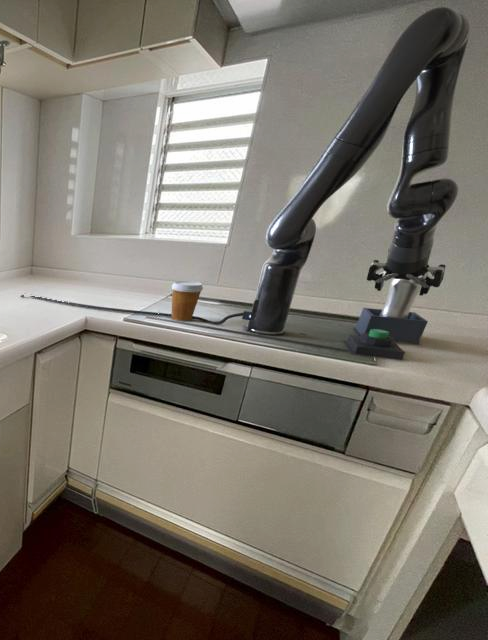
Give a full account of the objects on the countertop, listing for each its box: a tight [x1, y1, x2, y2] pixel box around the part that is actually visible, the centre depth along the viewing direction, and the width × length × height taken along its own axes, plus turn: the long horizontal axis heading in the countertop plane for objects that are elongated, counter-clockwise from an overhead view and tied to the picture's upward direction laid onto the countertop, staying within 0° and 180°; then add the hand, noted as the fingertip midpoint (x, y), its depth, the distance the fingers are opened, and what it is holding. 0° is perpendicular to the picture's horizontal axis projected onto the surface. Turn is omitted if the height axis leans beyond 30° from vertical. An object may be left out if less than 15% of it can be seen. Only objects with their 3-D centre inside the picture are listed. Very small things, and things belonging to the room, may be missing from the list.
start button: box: [368, 329, 389, 339], centre depth 104 cm, size 4×4×2 cm
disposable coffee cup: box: [170, 280, 204, 322], centre depth 135 cm, size 10×10×12 cm
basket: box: [355, 307, 429, 345], centre depth 117 cm, size 12×12×7 cm
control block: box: [346, 333, 406, 361], centre depth 105 cm, size 9×12×4 cm
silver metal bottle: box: [379, 278, 422, 319], centre depth 114 cm, size 6×7×20 cm
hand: (400, 290), depth 111 cm, fingers open, 8 cm apart
